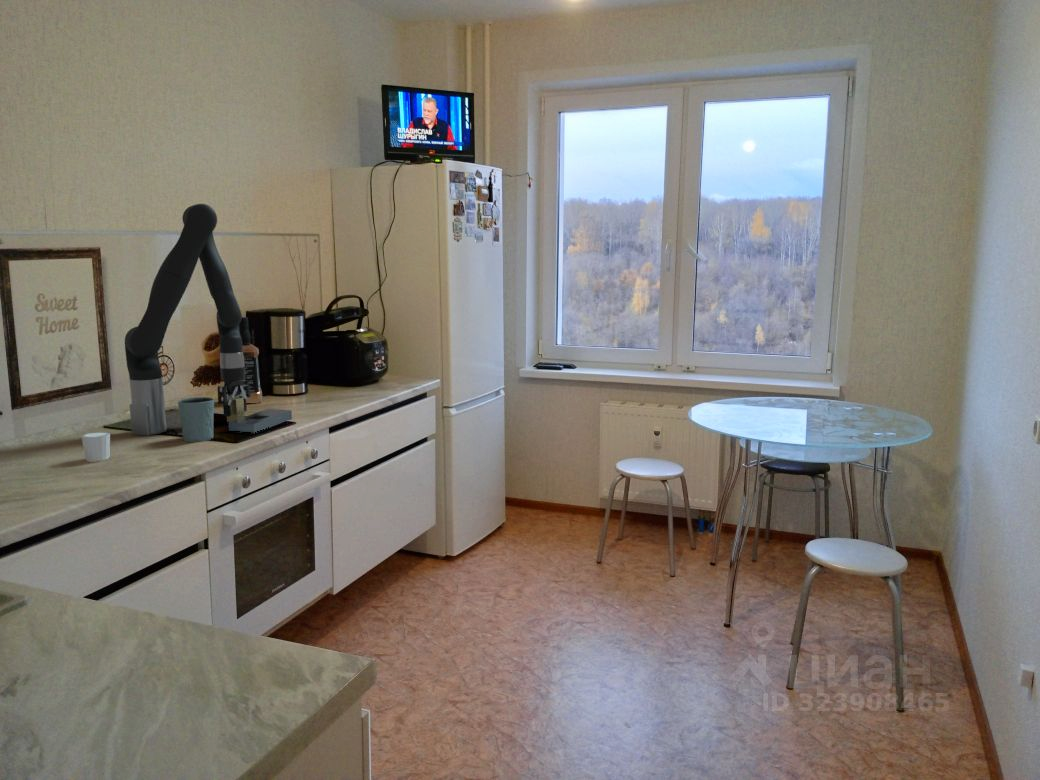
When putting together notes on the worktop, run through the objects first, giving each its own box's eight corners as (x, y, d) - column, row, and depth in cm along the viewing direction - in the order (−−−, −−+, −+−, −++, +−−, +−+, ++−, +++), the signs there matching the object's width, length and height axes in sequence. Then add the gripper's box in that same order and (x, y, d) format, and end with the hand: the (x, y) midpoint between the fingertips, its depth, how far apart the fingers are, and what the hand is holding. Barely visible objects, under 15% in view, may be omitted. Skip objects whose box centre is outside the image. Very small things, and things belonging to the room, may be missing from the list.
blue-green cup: (175, 442, 232) (171, 402, 230) (189, 434, 242) (186, 396, 240) (208, 442, 232) (206, 402, 230) (221, 434, 242) (219, 396, 240)
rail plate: (254, 433, 243) (253, 424, 243) (229, 431, 246) (228, 422, 245) (291, 418, 264) (291, 410, 264) (268, 417, 267) (267, 408, 266)
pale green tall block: (237, 423, 257) (236, 399, 256) (227, 422, 258) (225, 399, 257) (244, 421, 261) (243, 397, 260) (234, 420, 262) (232, 397, 261)
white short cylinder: (105, 454, 218) (103, 430, 217) (116, 458, 214) (114, 434, 212) (79, 459, 213) (77, 434, 211) (90, 464, 208) (87, 438, 207)
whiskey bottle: (235, 399, 298) (229, 316, 292) (262, 398, 301) (257, 315, 295) (233, 404, 288) (227, 318, 283) (261, 403, 291) (255, 318, 285)
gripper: (229, 369, 249) (232, 418, 251) (255, 363, 262) (257, 410, 265) (208, 368, 250) (212, 417, 253) (235, 362, 264) (238, 409, 267)
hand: (235, 413), depth 259 cm, fingers open, 8 cm apart
